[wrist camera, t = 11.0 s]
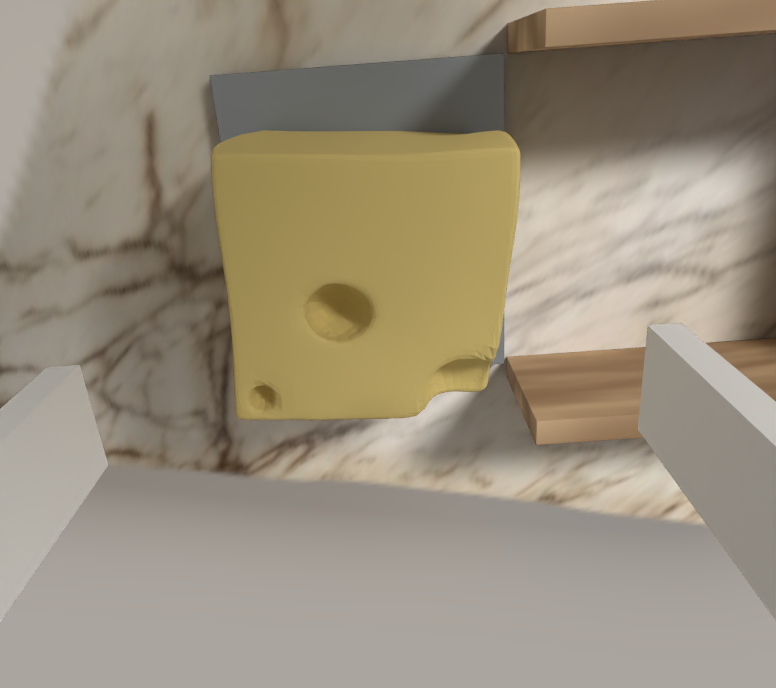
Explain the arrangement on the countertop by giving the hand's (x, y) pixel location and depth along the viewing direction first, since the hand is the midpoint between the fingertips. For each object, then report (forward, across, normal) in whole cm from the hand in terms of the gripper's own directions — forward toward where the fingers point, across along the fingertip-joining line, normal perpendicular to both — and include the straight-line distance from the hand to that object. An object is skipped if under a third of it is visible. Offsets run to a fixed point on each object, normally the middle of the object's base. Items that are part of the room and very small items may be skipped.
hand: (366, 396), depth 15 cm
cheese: (+18, 0, 0) cm, 18 cm away
